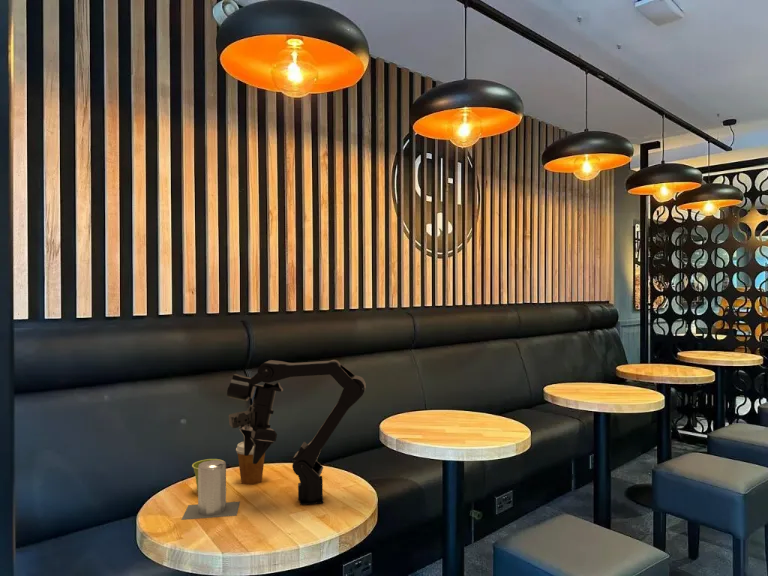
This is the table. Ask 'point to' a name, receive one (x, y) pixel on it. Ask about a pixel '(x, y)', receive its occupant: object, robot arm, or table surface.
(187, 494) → the table surface
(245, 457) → the disposable coffee cup
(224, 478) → the brushed metal canister
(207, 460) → the plant pot
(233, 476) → the table surface
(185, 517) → the charcoal mat
